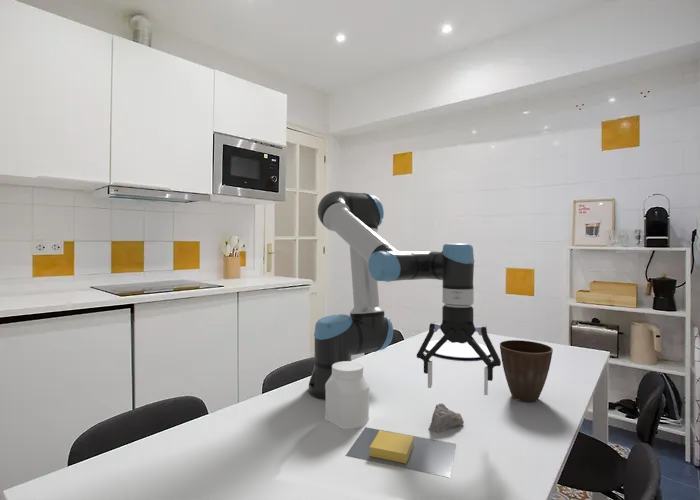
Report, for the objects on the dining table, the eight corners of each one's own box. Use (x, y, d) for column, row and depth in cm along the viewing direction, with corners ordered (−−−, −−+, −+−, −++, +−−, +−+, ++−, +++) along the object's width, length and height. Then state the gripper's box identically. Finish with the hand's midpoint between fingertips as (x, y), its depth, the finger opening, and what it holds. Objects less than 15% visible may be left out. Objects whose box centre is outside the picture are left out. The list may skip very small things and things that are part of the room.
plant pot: (542, 412, 111) (543, 356, 111) (490, 397, 121) (491, 346, 121) (557, 397, 122) (559, 346, 122) (509, 385, 132) (510, 337, 132)
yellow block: (379, 439, 92) (369, 456, 85) (379, 430, 92) (369, 446, 85) (413, 445, 89) (406, 464, 82) (413, 436, 89) (406, 454, 82)
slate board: (345, 461, 85) (345, 455, 85) (365, 431, 98) (365, 427, 98) (449, 483, 77) (450, 477, 77) (456, 448, 91) (456, 443, 91)
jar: (375, 425, 102) (376, 367, 102) (348, 437, 96) (348, 375, 95) (345, 410, 110) (346, 357, 110) (318, 420, 104) (319, 364, 104)
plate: (502, 362, 159) (502, 357, 159) (430, 360, 159) (430, 356, 159) (479, 343, 188) (480, 339, 188) (418, 342, 189) (418, 338, 188)
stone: (452, 443, 94) (452, 418, 93) (421, 433, 98) (421, 410, 98) (466, 427, 102) (466, 405, 101) (436, 419, 106) (437, 397, 106)
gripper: (405, 304, 99) (405, 388, 100) (512, 310, 91) (511, 401, 91) (411, 300, 107) (411, 379, 107) (510, 305, 98) (510, 390, 98)
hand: (457, 389), depth 99 cm, fingers open, 13 cm apart
